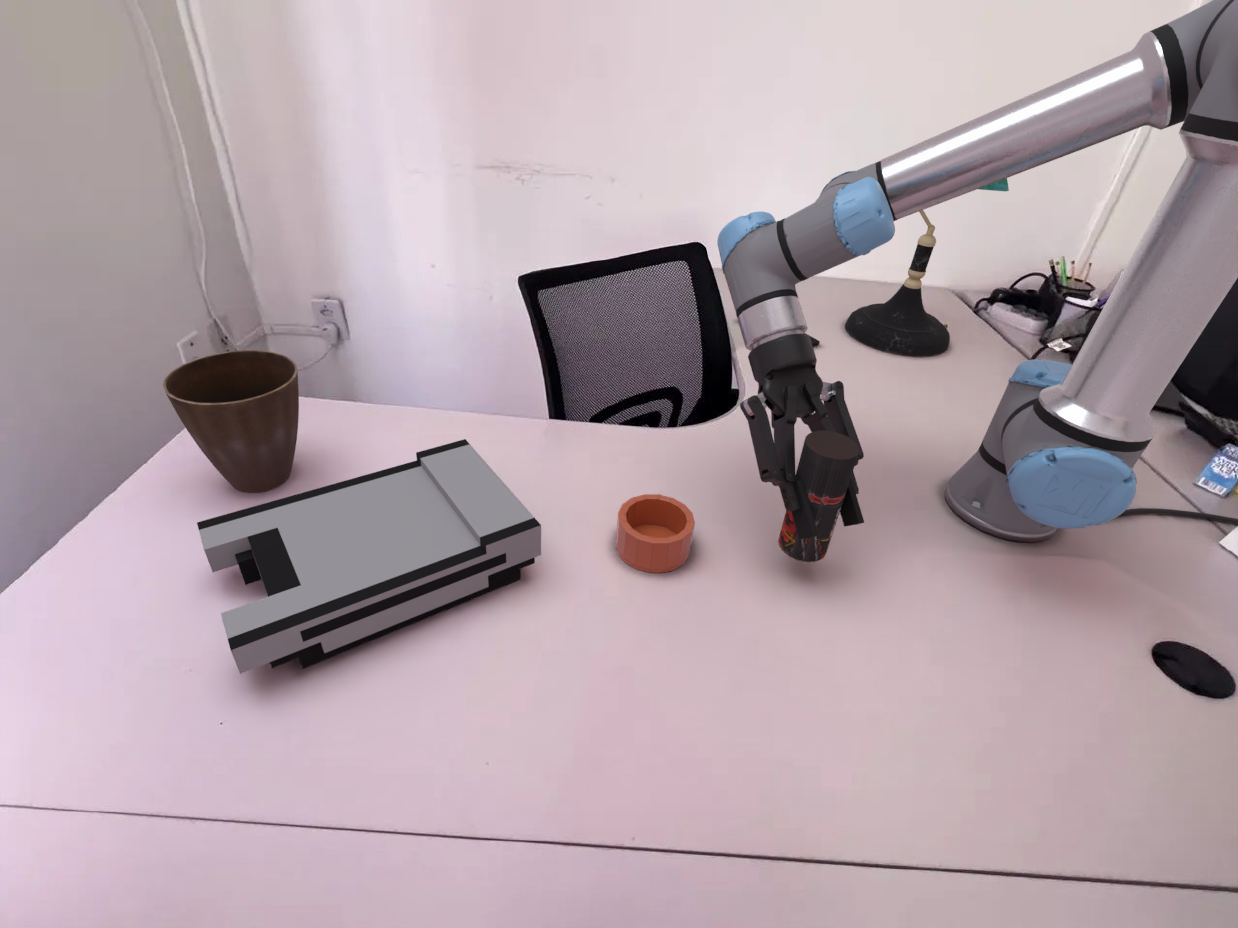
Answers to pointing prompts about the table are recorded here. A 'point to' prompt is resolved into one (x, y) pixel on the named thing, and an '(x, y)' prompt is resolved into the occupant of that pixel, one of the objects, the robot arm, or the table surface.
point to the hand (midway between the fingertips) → (831, 530)
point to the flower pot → (240, 414)
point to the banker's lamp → (907, 309)
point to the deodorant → (820, 491)
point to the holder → (654, 533)
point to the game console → (369, 555)
